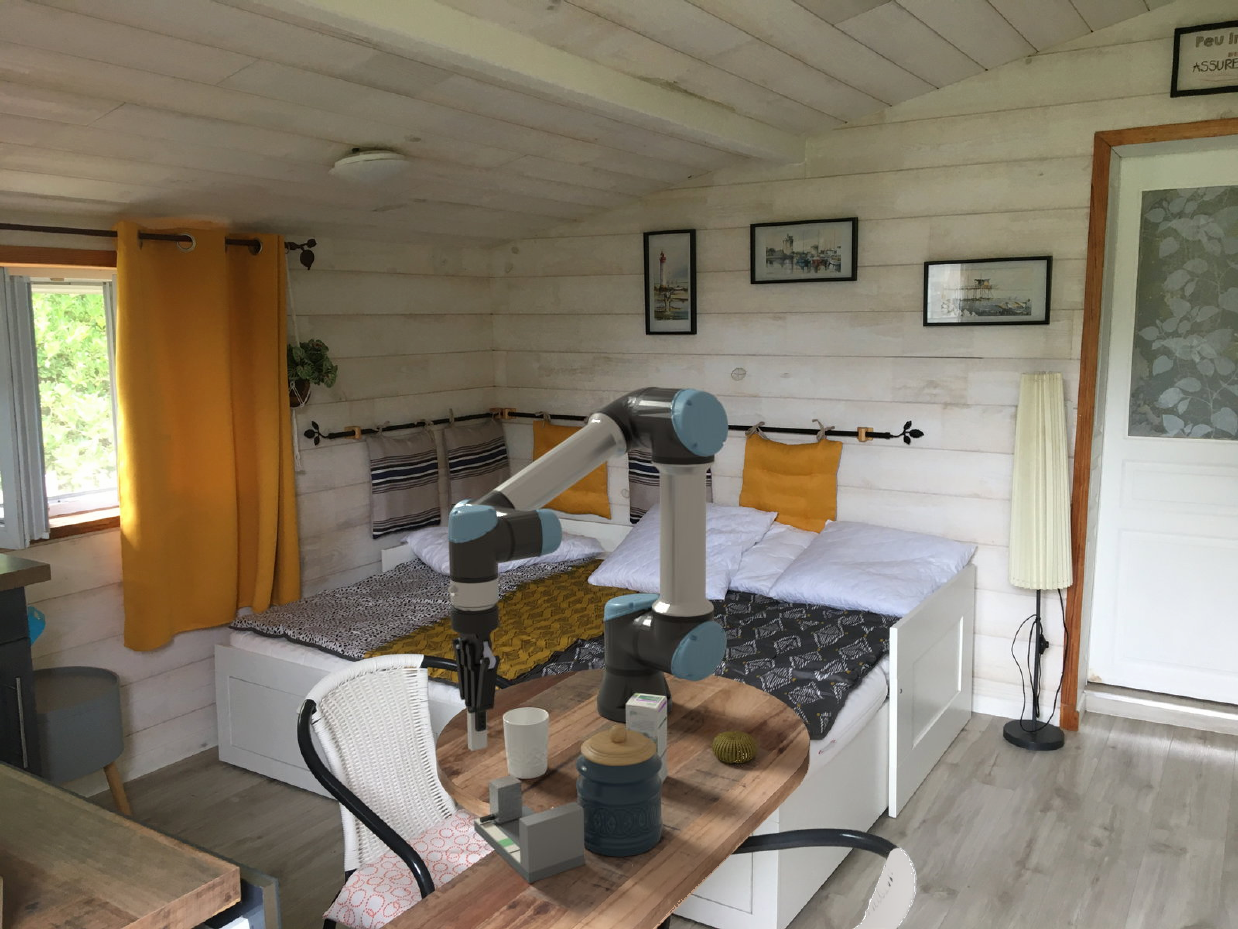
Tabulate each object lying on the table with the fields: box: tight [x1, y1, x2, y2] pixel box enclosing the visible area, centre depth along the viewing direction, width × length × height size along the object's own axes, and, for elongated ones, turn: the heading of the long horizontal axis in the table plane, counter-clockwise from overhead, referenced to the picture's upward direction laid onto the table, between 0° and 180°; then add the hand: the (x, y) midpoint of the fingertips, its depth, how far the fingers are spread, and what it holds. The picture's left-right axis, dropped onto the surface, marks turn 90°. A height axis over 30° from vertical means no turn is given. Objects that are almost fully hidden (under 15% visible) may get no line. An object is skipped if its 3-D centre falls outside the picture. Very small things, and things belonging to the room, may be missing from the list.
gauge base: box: [473, 801, 586, 884], centre depth 151 cm, size 18×9×8 cm, turn 33°
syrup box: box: [625, 693, 669, 784], centre depth 172 cm, size 6×6×14 cm
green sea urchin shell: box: [711, 730, 758, 764], centre depth 181 cm, size 8×4×8 cm
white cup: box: [502, 706, 550, 780], centre depth 176 cm, size 8×8×10 cm
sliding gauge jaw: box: [479, 774, 523, 824], centre depth 156 cm, size 3×6×6 cm, turn 123°
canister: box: [575, 724, 664, 857], centre depth 153 cm, size 13×13×18 cm
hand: (477, 747), depth 163 cm, fingers closed
